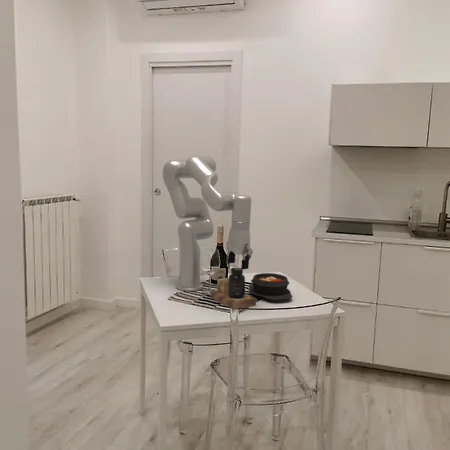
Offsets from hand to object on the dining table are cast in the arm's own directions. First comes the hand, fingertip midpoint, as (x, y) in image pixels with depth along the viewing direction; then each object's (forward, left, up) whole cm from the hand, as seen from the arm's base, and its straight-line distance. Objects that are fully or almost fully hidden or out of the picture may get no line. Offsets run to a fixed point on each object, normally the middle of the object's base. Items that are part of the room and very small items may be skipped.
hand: (238, 265), depth 193 cm
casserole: (-3, +20, -17) cm, 26 cm away
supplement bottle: (0, 0, -13) cm, 13 cm away
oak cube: (-9, 0, -13) cm, 16 cm away
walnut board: (-3, 0, -16) cm, 17 cm away
